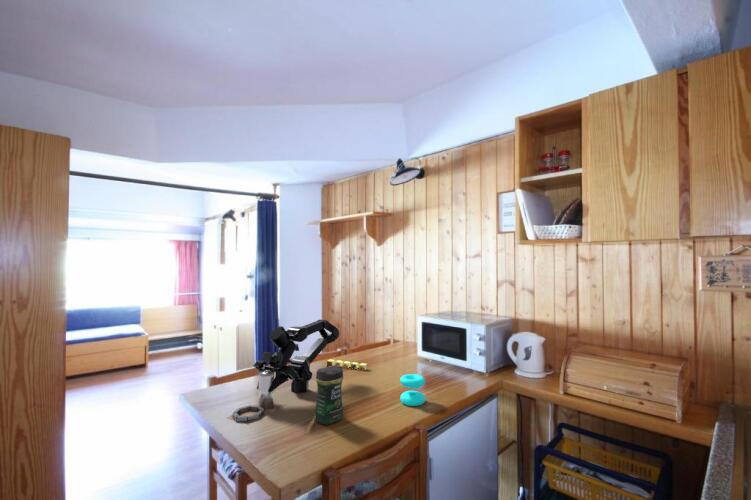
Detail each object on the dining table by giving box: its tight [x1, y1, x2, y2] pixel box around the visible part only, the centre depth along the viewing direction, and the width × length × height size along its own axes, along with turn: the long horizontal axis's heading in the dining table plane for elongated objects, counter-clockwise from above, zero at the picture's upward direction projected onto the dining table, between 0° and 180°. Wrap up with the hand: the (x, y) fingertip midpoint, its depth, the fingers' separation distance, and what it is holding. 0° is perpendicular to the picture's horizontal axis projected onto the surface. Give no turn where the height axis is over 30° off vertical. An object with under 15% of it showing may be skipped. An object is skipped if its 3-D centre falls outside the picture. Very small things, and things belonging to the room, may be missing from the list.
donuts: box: [399, 373, 426, 407], centre depth 138 cm, size 10×10×10 cm
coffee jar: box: [314, 365, 344, 426], centre depth 123 cm, size 10×8×19 cm
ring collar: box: [231, 404, 264, 423], centre depth 123 cm, size 10×10×2 cm
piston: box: [257, 370, 275, 410], centre depth 131 cm, size 6×6×13 cm
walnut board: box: [226, 400, 288, 426], centre depth 127 cm, size 19×11×1 cm, turn 151°
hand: (263, 390), depth 130 cm, fingers closed on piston, 6 cm apart
